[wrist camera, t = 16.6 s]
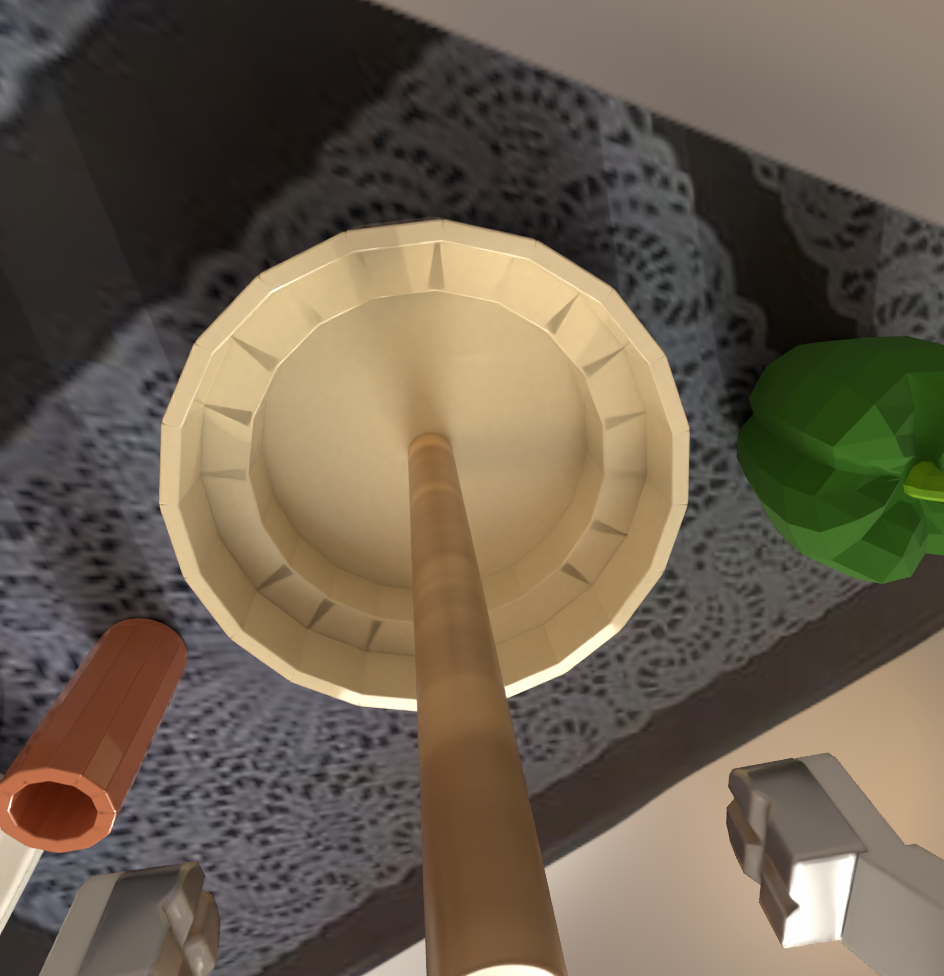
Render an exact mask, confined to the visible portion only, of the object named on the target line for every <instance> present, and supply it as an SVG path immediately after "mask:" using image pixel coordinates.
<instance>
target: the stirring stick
mask: <svg viewBox="0 0 944 976" xmlns="http://www.w3.org/2000/svg"><path fill="white" fill-rule="evenodd" d="M408 472H409V500H410V527H411V555H412V583H413V610H414V638H415V666H416V694H417V721H418V749H419V777H420V804H421V832H422V860H423V887H424V915H425V943H426V969H427V976H568V975H567V970H566V966H565V961H564V956H563V952H562V947H561V943H560V938H559V934H558V929H557V924H556V920H555V915H554V911H553V906H552V902H551V898H550V892H549V888H548V883H547V879H546V874H545V870H544V865H543V860H542V856H541V851H540V847H539V842H538V838H537V833H536V829H535V824H534V819H533V815H532V810H531V806H530V801H529V797H528V792H527V787H526V783H525V778H524V774H523V769H522V765H521V760H520V756H519V751H518V746H517V742H516V737H515V733H514V728H513V724H512V719H511V714H510V710H509V705H508V701H507V696H506V692H505V687H504V683H503V678H502V673H501V669H500V664H499V660H498V655H497V651H496V646H495V641H494V637H493V632H492V628H491V623H490V619H489V614H488V610H487V605H486V600H485V596H484V591H483V587H482V582H481V578H480V573H479V568H478V564H477V559H476V555H475V550H474V546H473V541H472V537H471V532H470V527H469V523H468V518H467V514H466V509H465V505H464V500H463V496H462V491H461V486H460V482H459V477H458V473H457V468H456V464H455V459H454V454H453V450H452V446H451V444H450V443H449V441H448V440H447V439H446V438H445V437H443V436H442V435H440V434H437V433H425V434H422V435H420V436H418V437H416V438H415V439H414V440H413V441H412V443H411V444H410V446H409V449H408Z"/></svg>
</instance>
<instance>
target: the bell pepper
mask: <svg viewBox="0 0 944 976" xmlns="http://www.w3.org/2000/svg"><path fill="white" fill-rule="evenodd" d="M749 401H750V404H751V407H752V410H753V413H754V414H753V415H752V416H751V417H750V418H749V419H748V420H747V421H746V423H745V424H744V425H743V426H742V427H741V429H740V431H739V434H738V443H737V459H738V461H739V463H740V465H741V467H742V469H743V472H744V474H745V476H746V478H747V479H748V481H749V483H750V485H751V487H752V488H753V490H754V492H755V494H756V495H757V497H758V499H759V501H760V503H761V504H762V506H763V508H764V510H765V511H766V513H767V515H768V517H769V519H770V520H771V522H772V524H773V526H774V527H775V529H776V530H777V531H778V532H779V533H780V534H781V535H782V536H783V537H784V538H785V539H786V540H787V541H788V542H789V543H791V544H792V545H793V546H794V547H795V548H796V549H797V550H798V551H799V552H800V553H801V554H803V555H805V556H807V557H809V558H811V559H814V560H816V561H818V562H820V563H822V564H825V565H827V566H829V567H831V568H833V569H836V570H838V571H840V572H842V573H844V574H847V575H849V576H851V577H853V578H855V579H860V580H866V581H871V582H876V583H881V584H883V583H887V582H891V581H894V580H898V579H902V578H906V577H910V576H912V574H913V572H914V571H915V569H916V567H917V566H918V564H919V562H920V561H921V559H922V558H923V556H924V554H925V553H930V554H938V555H944V345H942V344H938V343H934V342H930V341H925V340H921V339H917V338H912V337H908V336H897V337H865V338H855V339H846V340H836V341H826V342H816V343H810V344H804V345H798V346H796V347H795V348H793V349H792V350H790V351H788V352H787V353H785V354H784V355H782V356H781V357H779V358H778V359H776V360H775V361H773V362H771V363H770V364H769V365H768V366H767V367H766V368H765V369H764V371H763V373H762V375H761V377H760V378H759V380H758V382H757V384H756V386H755V388H754V389H753V391H752V393H751V395H750V397H749Z"/></svg>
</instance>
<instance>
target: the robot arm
mask: <svg viewBox="0 0 944 976" xmlns="http://www.w3.org/2000/svg"><path fill="white" fill-rule="evenodd" d="M728 787H729V789H730V791H731V793H732V794H733V796H734V800H733V801H732V802H731V803H730V804H729V805H728V807H727V821H726V824H727V829H728V833H729V838H730V842H731V845H732V847H733V850H734V853H735V856H736V858H737V860H738V862H739V864H740V866H741V868H742V870H743V872H744V874H746V875H747V876H748V877H750V878H751V879H753V880H754V881H755V882H757V883H758V884H760V885H761V888H760V898H759V903H760V905H761V907H762V909H763V911H764V913H765V915H766V917H767V918H768V921H769V922H770V924H771V926H772V928H773V930H774V932H775V934H776V936H777V938H778V940H779V942H780V943H781V945H782V947H783V948H789V947H796V946H802V945H809V944H815V943H822V942H829V941H835V940H842V944H843V945H844V946H845V947H847V948H848V949H849V950H850V951H851V952H853V953H854V954H855V955H856V956H857V957H858V958H860V959H861V960H862V961H863V962H864V963H866V964H867V965H868V966H869V967H870V968H871V969H873V970H874V971H875V972H876V973H878V974H879V975H880V976H944V860H942V859H941V858H939V857H938V856H936V855H934V854H932V853H931V852H929V851H927V850H925V849H924V848H922V847H920V846H918V845H917V844H911V845H905V844H904V843H903V841H902V840H901V839H900V838H899V836H898V835H897V834H896V833H895V831H894V830H893V829H892V828H891V826H890V825H889V824H888V823H887V821H886V820H885V819H884V818H883V816H882V815H881V814H880V813H879V811H878V810H877V809H876V808H875V806H874V805H873V804H872V802H871V801H870V800H869V799H868V798H867V796H866V795H865V794H864V793H863V791H862V790H861V789H860V788H859V786H858V785H857V784H856V782H855V781H854V780H853V779H852V777H851V776H850V775H849V774H848V772H847V771H846V770H845V769H844V768H843V766H842V765H841V764H840V762H839V761H838V760H837V759H836V758H835V757H834V756H832V755H831V754H829V753H823V754H817V755H811V756H806V757H800V758H796V759H793V758H790V759H784V760H779V761H773V762H768V763H763V764H757V765H752V766H747V767H741V768H736V769H733V770H732V771H731V773H730V775H729V784H728ZM204 878H205V875H204V873H203V871H202V868H201V866H200V864H199V862H198V861H197V862H188V863H181V864H174V865H167V866H160V867H153V868H146V869H139V870H132V871H125V872H119V873H112V874H106V875H100V876H93V877H89V878H88V880H87V881H86V882H85V883H84V884H83V885H82V886H81V888H80V889H79V890H78V893H77V895H76V897H75V899H74V901H73V903H72V906H71V908H70V910H69V912H68V914H67V916H66V919H65V921H64V923H63V925H62V927H61V929H60V932H59V934H58V936H57V938H56V940H55V942H54V945H53V947H52V949H51V951H50V953H49V955H48V957H47V960H46V962H45V964H44V966H43V968H42V970H41V973H40V975H39V976H208V975H209V973H210V972H211V971H212V970H213V968H214V966H215V962H216V957H217V953H218V948H219V936H220V918H219V911H218V906H217V904H216V901H215V899H214V896H213V895H211V894H209V893H208V892H206V891H204V890H202V886H203V882H204Z"/></svg>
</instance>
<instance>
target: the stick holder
mask: <svg viewBox="0 0 944 976" xmlns="http://www.w3.org/2000/svg"><path fill="white" fill-rule="evenodd" d="M187 661H188V652H187V648H186V645H185V643H184V641H183V640H182V638H181V637H180V636H179V635H178V634H177V633H176V632H175V631H174V630H173V629H171V628H170V627H168V626H167V625H165V624H163V623H161V622H158V621H155V620H151V619H144V618H133V619H127V620H123V621H120V622H118V623H116V624H114V625H112V626H111V627H109V628H108V629H107V630H106V631H105V632H104V634H103V635H102V637H101V638H99V639H98V640H97V642H96V643H95V645H94V646H93V647H92V649H91V650H90V652H89V653H88V655H87V656H86V658H85V659H84V660H83V662H82V663H81V665H80V666H79V668H78V669H77V671H76V672H75V673H74V675H73V676H72V678H71V679H70V681H69V682H68V684H67V685H66V686H65V688H64V689H63V691H62V692H61V694H60V695H59V697H58V698H57V699H56V701H55V702H54V704H53V705H52V707H51V708H50V710H49V711H48V712H47V714H46V715H45V717H44V718H43V720H42V721H41V723H40V724H39V725H38V727H37V728H36V730H35V731H34V733H33V734H32V736H31V737H30V738H29V740H28V741H27V743H26V744H25V746H24V747H23V748H22V750H21V751H20V753H19V754H18V756H17V757H16V759H15V760H14V761H13V763H12V764H11V766H10V767H9V769H8V770H7V772H6V773H5V774H4V776H3V777H2V779H1V780H0V829H1V830H2V831H3V832H4V833H5V834H7V835H9V836H10V837H12V838H14V839H15V840H17V841H18V842H20V843H22V844H23V845H25V846H28V847H29V848H34V849H40V850H45V851H50V852H56V853H59V852H60V853H62V852H68V851H74V850H80V849H86V848H88V847H91V846H92V845H94V844H95V843H97V842H98V841H100V840H101V839H103V838H104V837H106V836H107V835H108V834H109V833H110V832H111V831H112V828H113V826H114V824H115V822H116V820H117V818H118V815H119V813H120V811H121V809H122V807H123V805H124V802H125V800H126V798H127V796H128V794H129V791H130V789H131V787H132V785H133V783H134V781H135V778H136V776H137V774H138V772H139V770H140V768H141V765H142V763H143V761H144V759H145V757H146V754H147V752H148V750H149V748H150V746H151V744H152V741H153V739H154V737H155V735H156V733H157V731H158V728H159V726H160V724H161V722H162V720H163V717H164V715H165V713H166V711H167V709H168V707H169V704H170V702H171V700H172V698H173V696H174V694H175V691H176V689H177V687H178V685H179V683H180V680H181V678H182V675H183V672H184V670H185V668H186V665H187Z"/></svg>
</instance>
